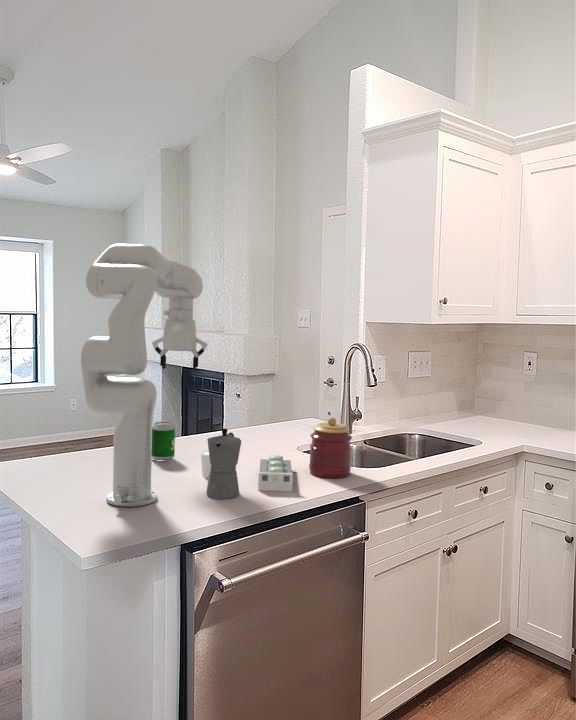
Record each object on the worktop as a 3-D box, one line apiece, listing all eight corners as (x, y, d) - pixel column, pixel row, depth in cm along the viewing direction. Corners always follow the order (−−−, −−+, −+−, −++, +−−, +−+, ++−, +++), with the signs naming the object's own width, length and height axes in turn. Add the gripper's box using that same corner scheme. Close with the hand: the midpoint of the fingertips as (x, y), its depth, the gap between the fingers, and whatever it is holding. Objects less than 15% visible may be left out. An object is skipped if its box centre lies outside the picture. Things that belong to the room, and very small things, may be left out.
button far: (282, 467, 186) (283, 458, 186) (268, 467, 186) (268, 458, 186) (282, 464, 190) (282, 455, 190) (268, 463, 190) (268, 455, 190)
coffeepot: (233, 503, 157) (235, 434, 156) (198, 500, 159) (200, 432, 157) (247, 486, 172) (249, 424, 171) (214, 484, 174) (216, 421, 172)
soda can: (168, 463, 195) (169, 426, 195) (147, 461, 197) (147, 424, 196) (177, 457, 203) (178, 422, 202) (156, 455, 204) (157, 420, 203)
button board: (292, 491, 169) (293, 474, 169) (258, 490, 169) (258, 472, 169) (290, 469, 193) (290, 454, 192) (260, 468, 193) (260, 453, 192)
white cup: (201, 479, 178) (202, 455, 178) (199, 473, 185) (199, 450, 184) (225, 478, 180) (225, 455, 179) (221, 472, 187) (222, 449, 186)
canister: (358, 476, 188) (361, 420, 186) (323, 480, 181) (325, 422, 180) (335, 466, 199) (337, 413, 198) (301, 470, 193) (303, 415, 191)
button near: (283, 480, 172) (283, 470, 172) (267, 480, 172) (268, 470, 172) (283, 476, 176) (283, 466, 176) (267, 475, 176) (268, 466, 176)
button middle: (283, 474, 179) (283, 464, 179) (268, 473, 179) (268, 464, 179) (282, 470, 183) (283, 460, 183) (268, 469, 183) (268, 460, 183)
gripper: (151, 313, 188) (149, 369, 189) (207, 316, 189) (205, 371, 190) (155, 314, 195) (153, 367, 197) (209, 316, 196) (207, 369, 197)
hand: (179, 369), depth 193 cm, fingers open, 9 cm apart
